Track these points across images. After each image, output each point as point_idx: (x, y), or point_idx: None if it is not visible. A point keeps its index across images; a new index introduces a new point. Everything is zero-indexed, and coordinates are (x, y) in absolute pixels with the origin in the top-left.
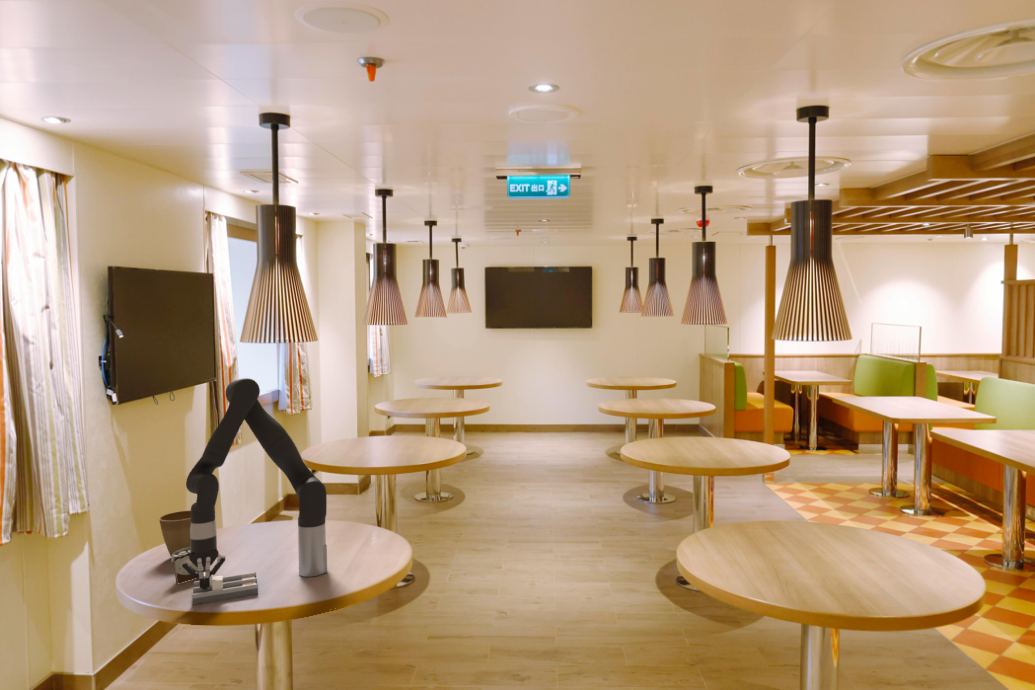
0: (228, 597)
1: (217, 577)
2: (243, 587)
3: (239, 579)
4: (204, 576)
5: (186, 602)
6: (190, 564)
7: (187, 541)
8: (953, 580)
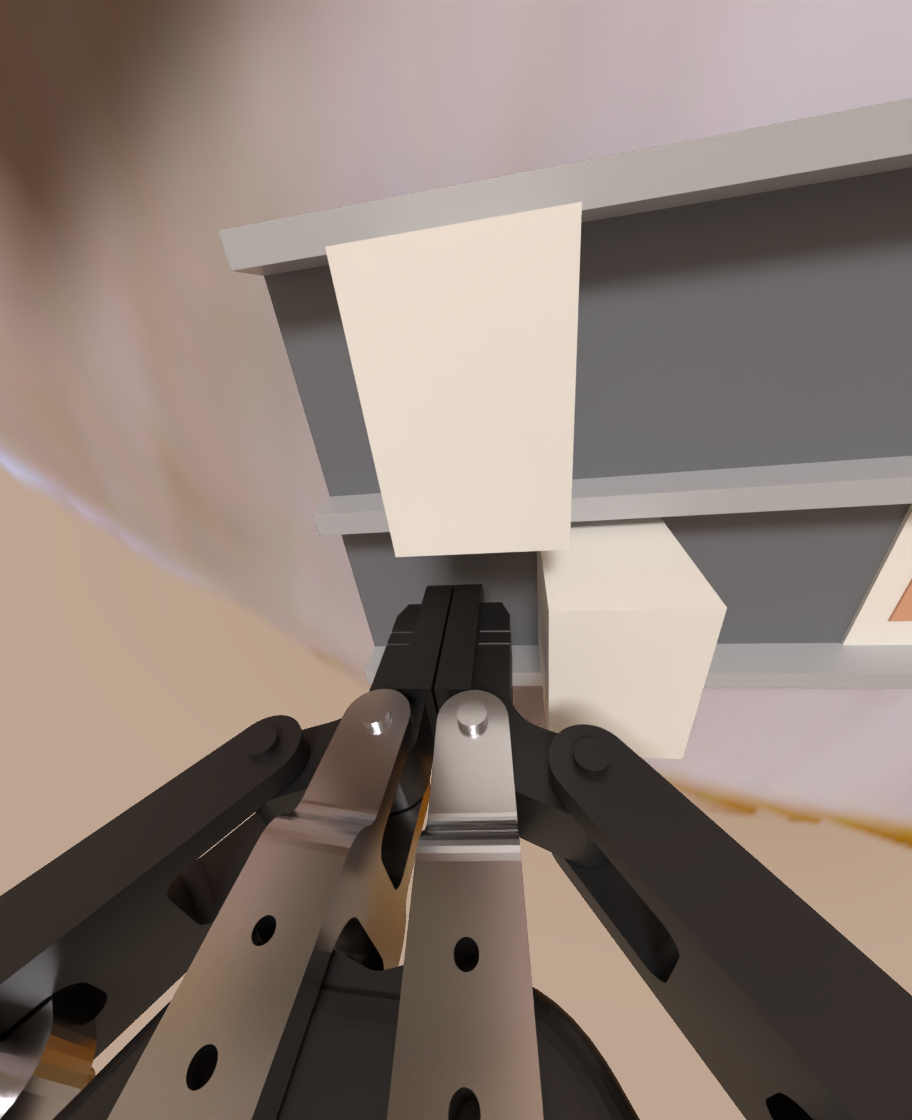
0: None
1: (627, 665)
2: (864, 680)
3: None
4: (431, 699)
5: (328, 555)
6: (58, 1107)
7: None
8: None
